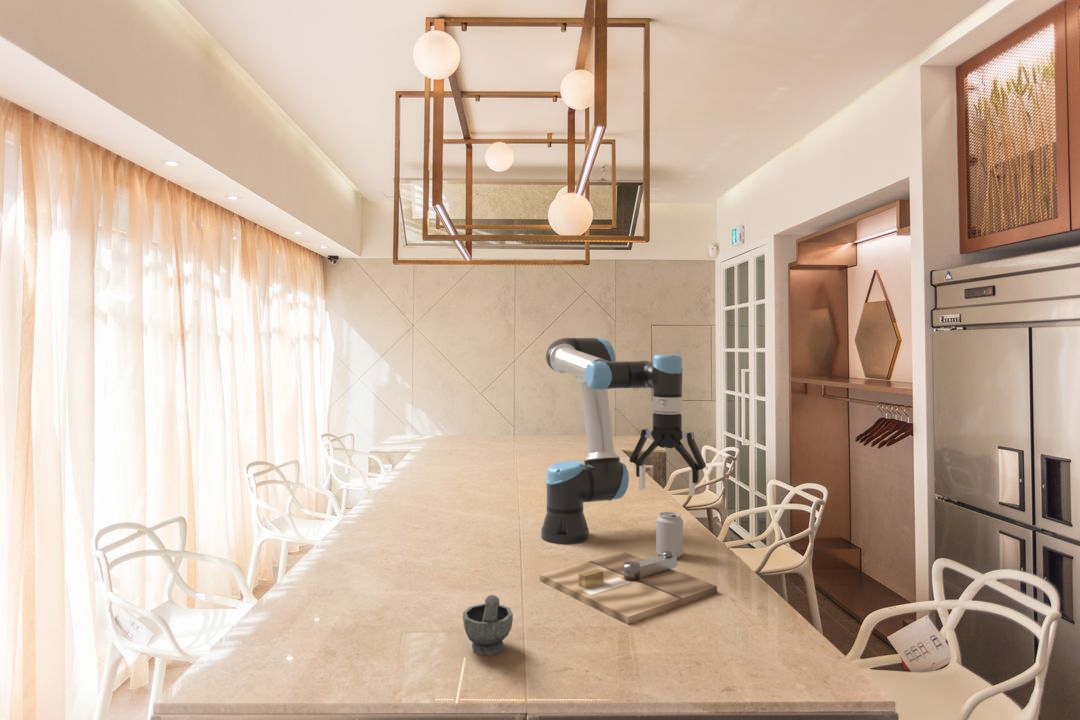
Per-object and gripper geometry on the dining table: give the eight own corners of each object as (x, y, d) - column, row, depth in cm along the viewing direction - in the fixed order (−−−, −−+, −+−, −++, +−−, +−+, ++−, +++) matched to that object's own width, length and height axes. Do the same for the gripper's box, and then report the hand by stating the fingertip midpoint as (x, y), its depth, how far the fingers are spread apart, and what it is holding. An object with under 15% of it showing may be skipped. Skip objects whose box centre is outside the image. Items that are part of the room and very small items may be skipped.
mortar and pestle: (460, 639, 125) (460, 580, 125) (506, 634, 128) (506, 576, 128) (468, 666, 114) (468, 601, 114) (517, 660, 117) (518, 597, 117)
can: (683, 560, 174) (683, 517, 174) (656, 558, 175) (656, 516, 175) (682, 552, 181) (682, 511, 181) (656, 550, 183) (656, 510, 182)
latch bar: (631, 582, 152) (631, 566, 152) (620, 577, 156) (620, 561, 156) (678, 568, 163) (678, 553, 162) (666, 563, 166) (666, 549, 166)
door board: (539, 580, 158) (539, 562, 158) (624, 557, 176) (624, 541, 176) (627, 624, 132) (627, 603, 132) (717, 592, 150) (717, 573, 150)
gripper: (618, 411, 167) (617, 489, 168) (710, 416, 155) (710, 500, 156) (628, 409, 174) (627, 484, 174) (718, 413, 162) (717, 494, 162)
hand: (666, 492), depth 165 cm, fingers open, 13 cm apart
